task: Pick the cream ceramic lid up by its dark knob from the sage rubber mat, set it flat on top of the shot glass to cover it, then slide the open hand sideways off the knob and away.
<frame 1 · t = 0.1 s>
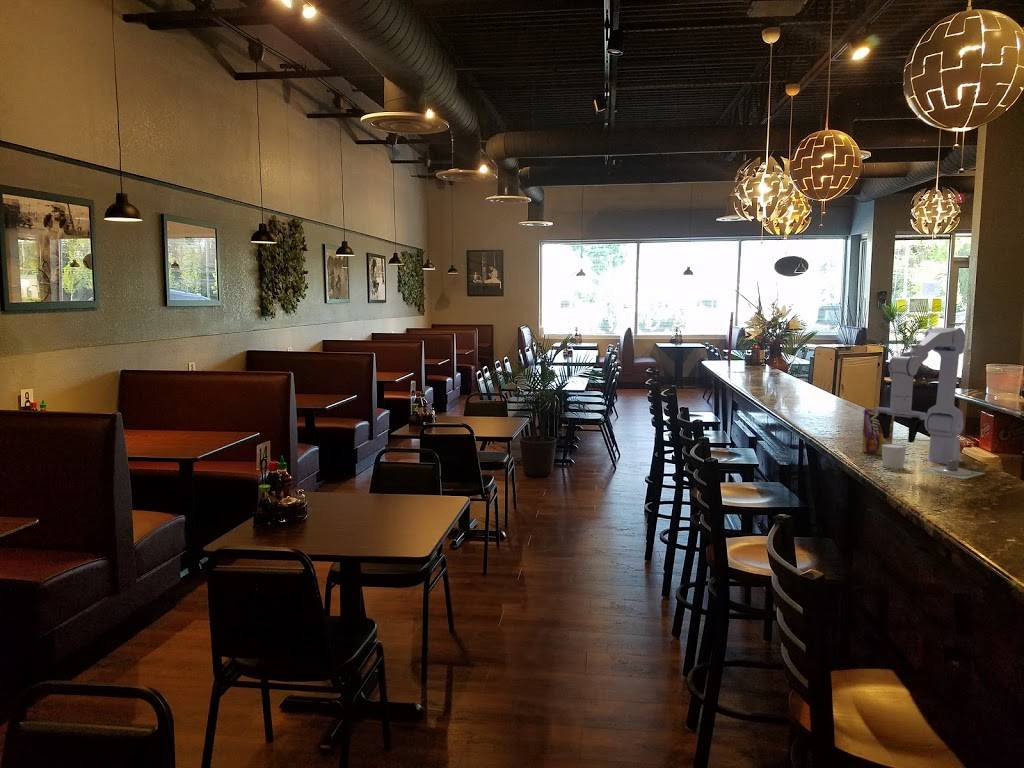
hand: (898, 440, 224), 10 cm above the worktop, fingers open, 7 cm apart
candy box: (876, 453, 254), on the worktop
mat: (951, 473, 225), on the worktop
lid: (952, 471, 225), resting on mat
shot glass: (892, 468, 232), on the worktop
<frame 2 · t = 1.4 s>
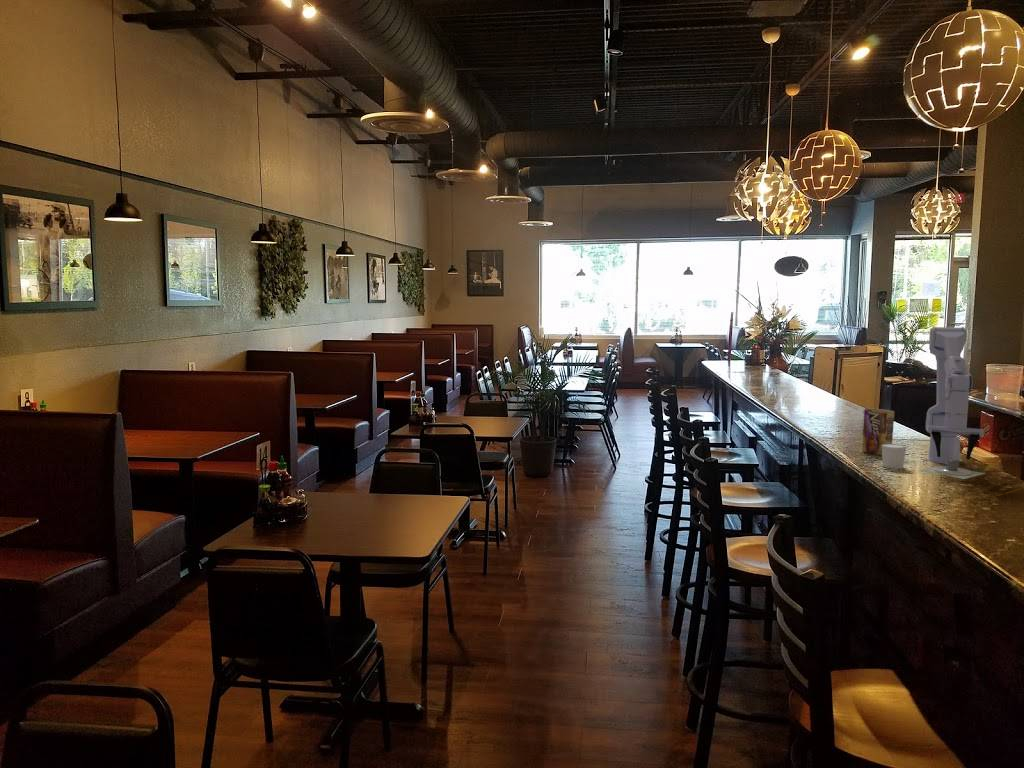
hand: (953, 457, 224), 5 cm above the worktop, fingers open, 7 cm apart
nothing on the worktop moved.
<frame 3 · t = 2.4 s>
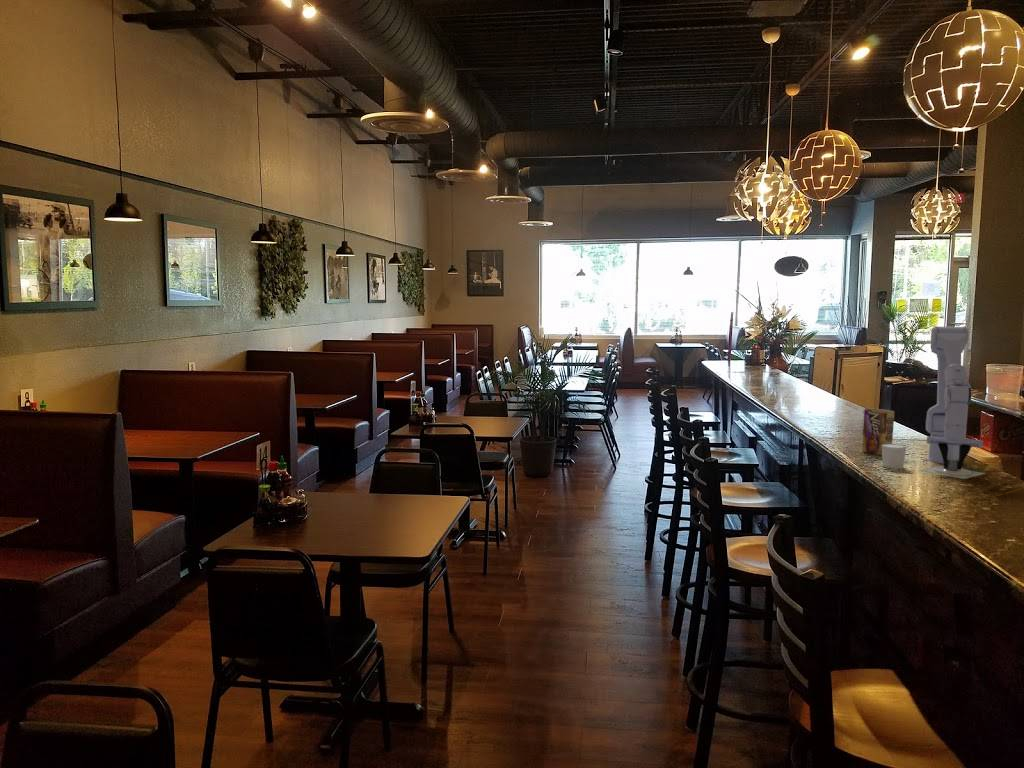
hand: (952, 468, 225), 1 cm above the worktop, fingers closed on lid, 3 cm apart
lid: (952, 471, 225), resting on mat, touching gripper
everything else where it was.
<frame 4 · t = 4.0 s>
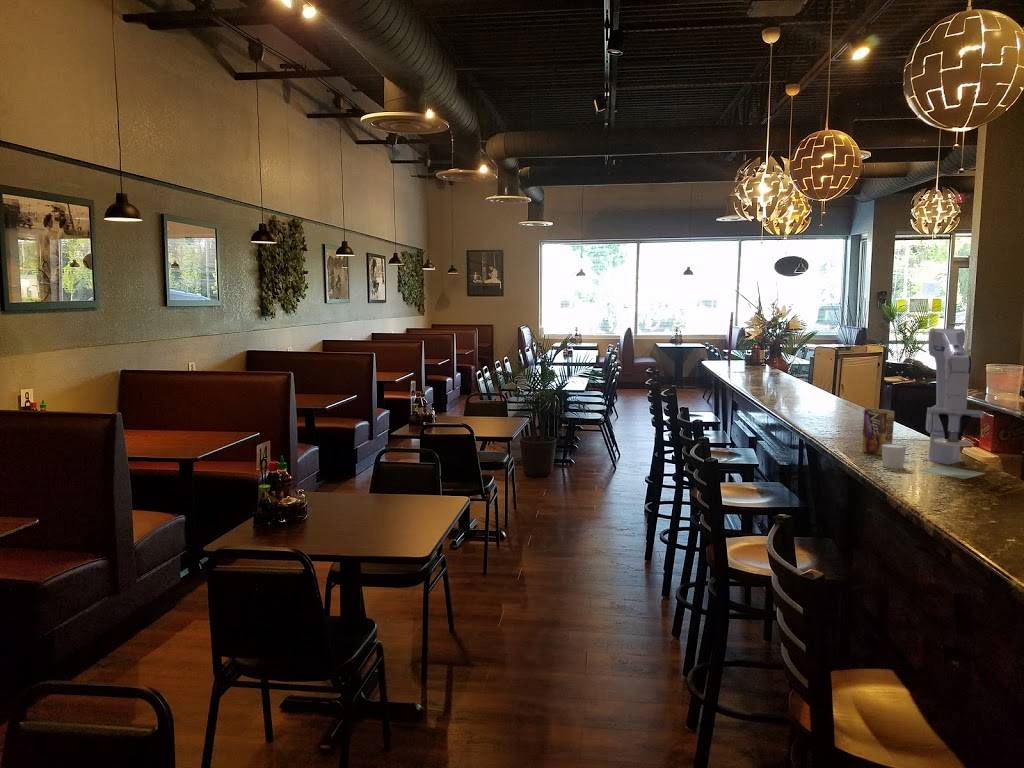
hand: (952, 439, 224), 10 cm above the worktop, fingers closed on lid, 3 cm apart
lid: (952, 443, 224), point 9 cm above the worktop, touching gripper
everything else where it was.
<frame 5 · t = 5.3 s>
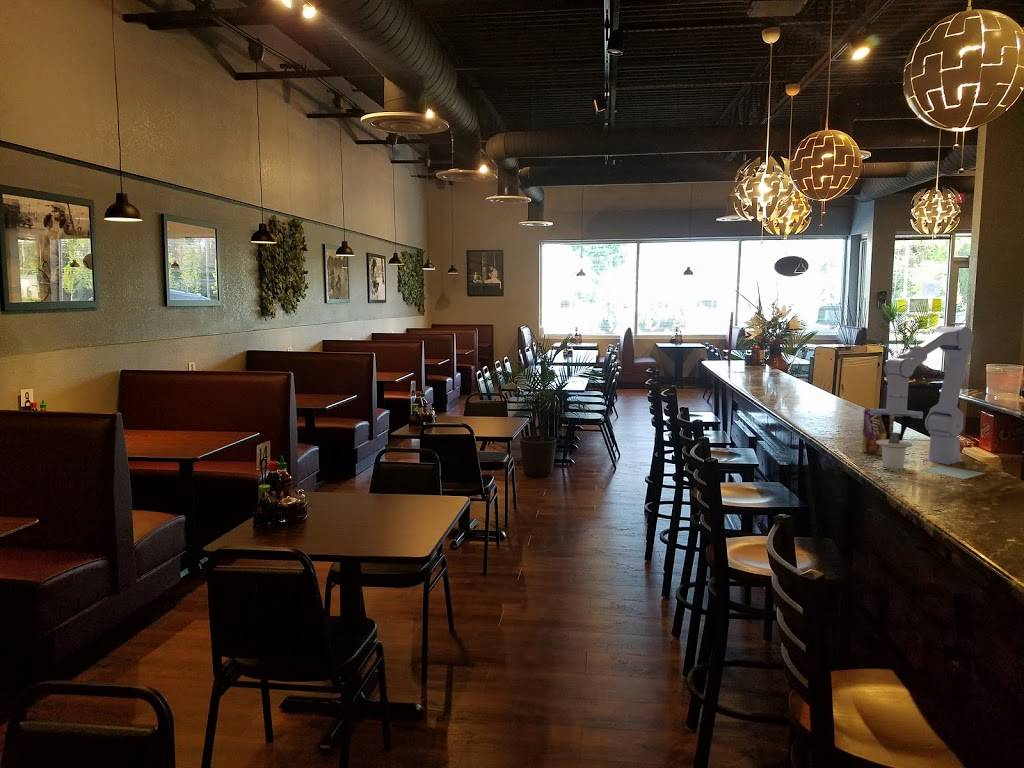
hand: (894, 439, 231), 9 cm above the worktop, fingers closed on lid, 3 cm apart
lid: (894, 444, 231), point 7 cm above the worktop, touching gripper
everything else where it was.
when the fingers open (8 cm above the worktop, at t = 5.7 s): lid stays where it is, resting on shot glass.
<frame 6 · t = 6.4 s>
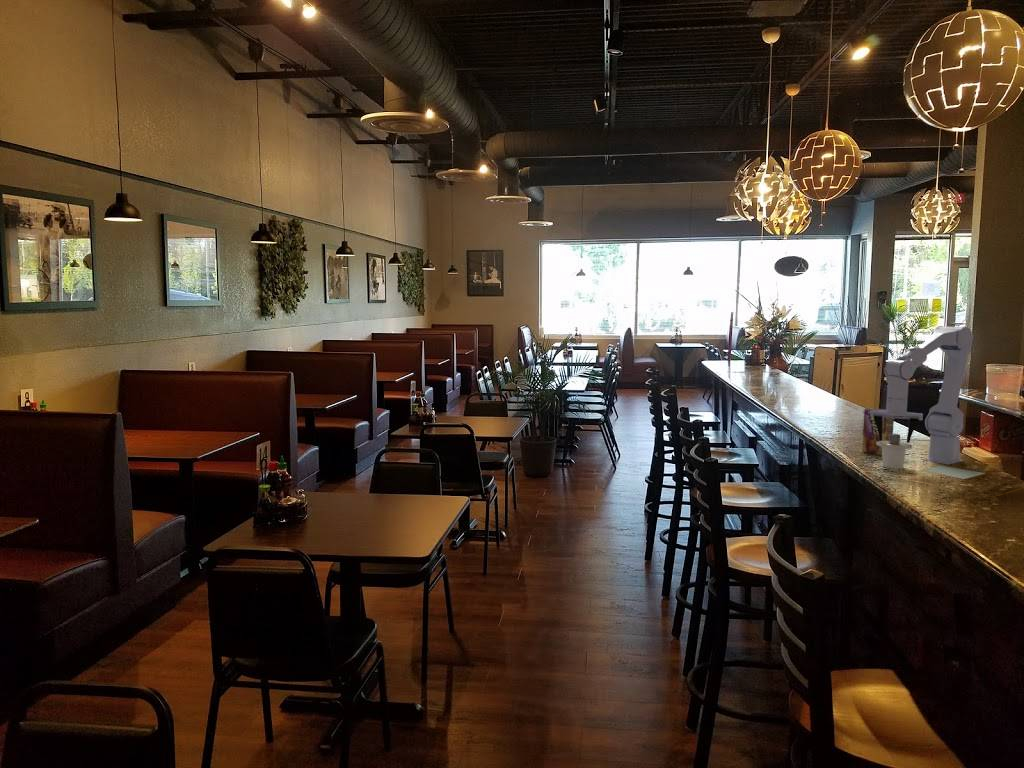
hand: (894, 441, 231), 8 cm above the worktop, fingers open, 7 cm apart
lid: (894, 445, 231), point 7 cm above the worktop, touching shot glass
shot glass: (892, 468, 232), on the worktop, touching lid
everything else where it was.
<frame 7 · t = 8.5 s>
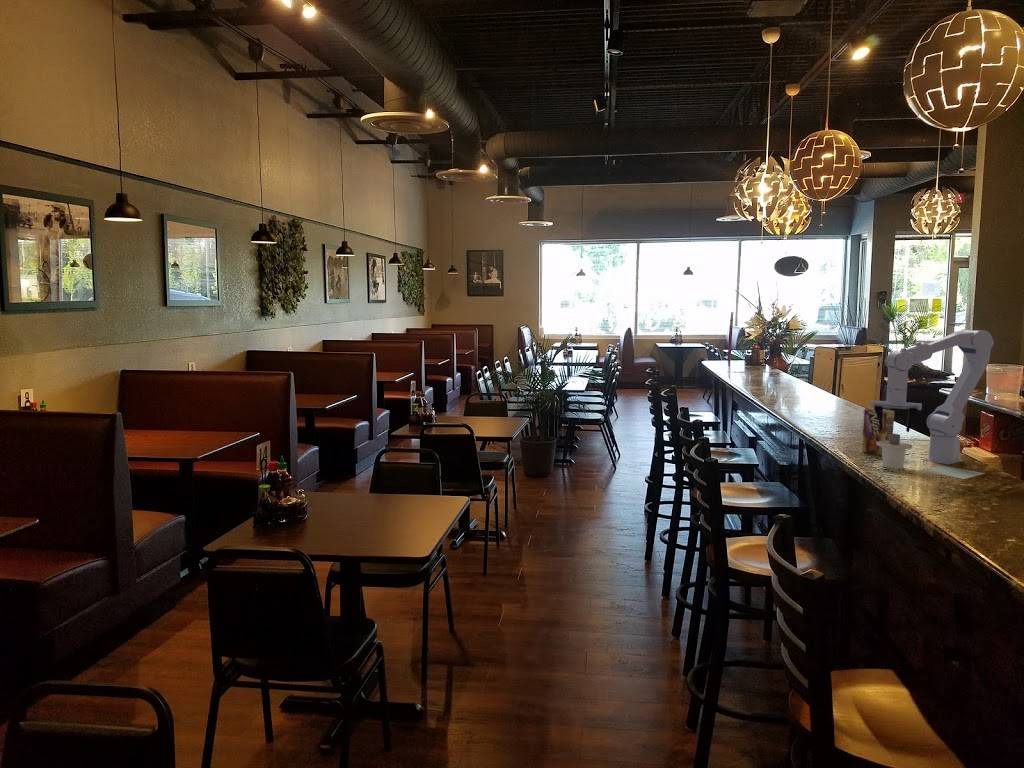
hand: (894, 430, 239), 10 cm above the worktop, fingers open, 7 cm apart
nothing on the worktop moved.
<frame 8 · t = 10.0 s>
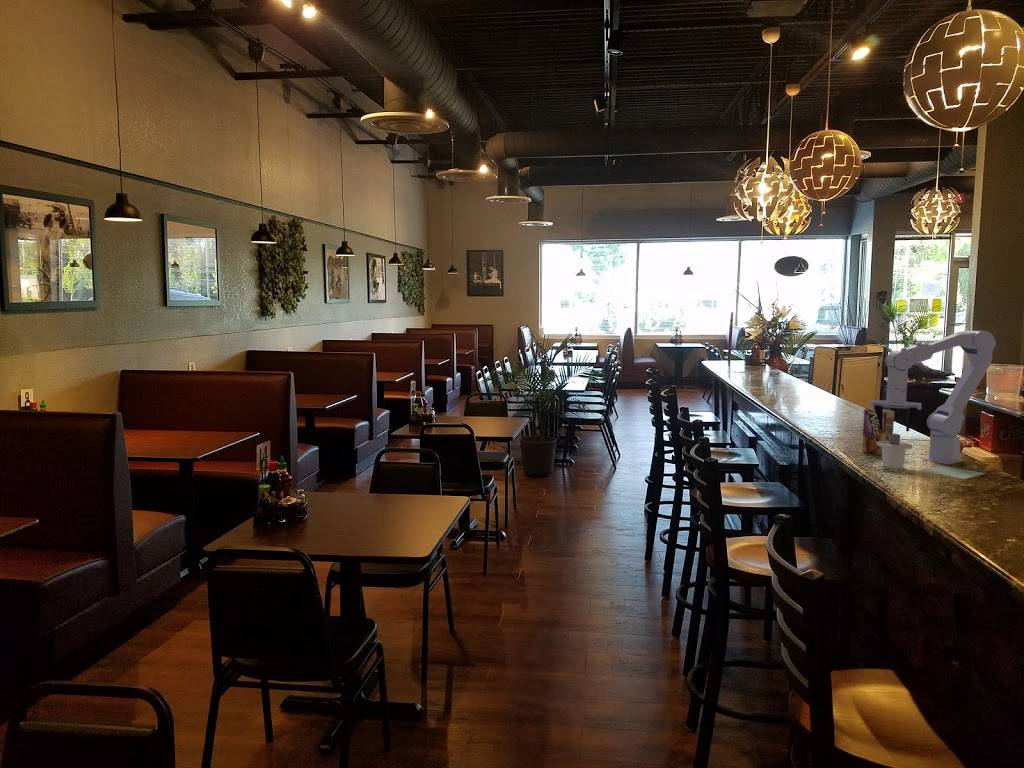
hand: (894, 430, 240), 10 cm above the worktop, fingers open, 7 cm apart
nothing on the worktop moved.
at the end: lid 0.1 cm off-centre on the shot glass, point 7.2 cm above the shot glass's base; lid tilted 0°; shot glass tilted 0° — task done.
